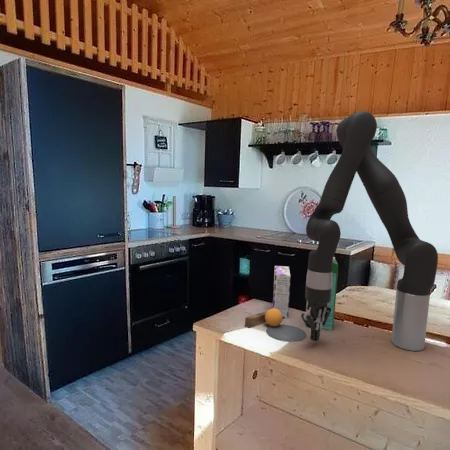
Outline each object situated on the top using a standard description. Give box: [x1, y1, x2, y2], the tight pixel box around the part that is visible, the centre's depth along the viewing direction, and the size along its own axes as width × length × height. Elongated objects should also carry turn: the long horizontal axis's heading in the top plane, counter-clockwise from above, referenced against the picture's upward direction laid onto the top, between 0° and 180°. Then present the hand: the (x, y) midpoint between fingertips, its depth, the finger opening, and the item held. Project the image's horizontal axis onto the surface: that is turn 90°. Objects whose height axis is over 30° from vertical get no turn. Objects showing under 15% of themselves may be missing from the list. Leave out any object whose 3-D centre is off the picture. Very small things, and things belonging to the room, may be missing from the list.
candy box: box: [272, 265, 291, 319], centre depth 136 cm, size 14×6×16 cm, turn 172°
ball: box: [265, 307, 284, 326], centre depth 123 cm, size 6×6×6 cm
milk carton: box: [305, 250, 339, 331], centre depth 125 cm, size 9×9×25 cm
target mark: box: [265, 323, 307, 342], centre depth 118 cm, size 13×13×1 cm
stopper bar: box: [244, 310, 268, 329], centre depth 126 cm, size 14×2×3 cm, turn 132°
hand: (314, 340), depth 109 cm, fingers closed
